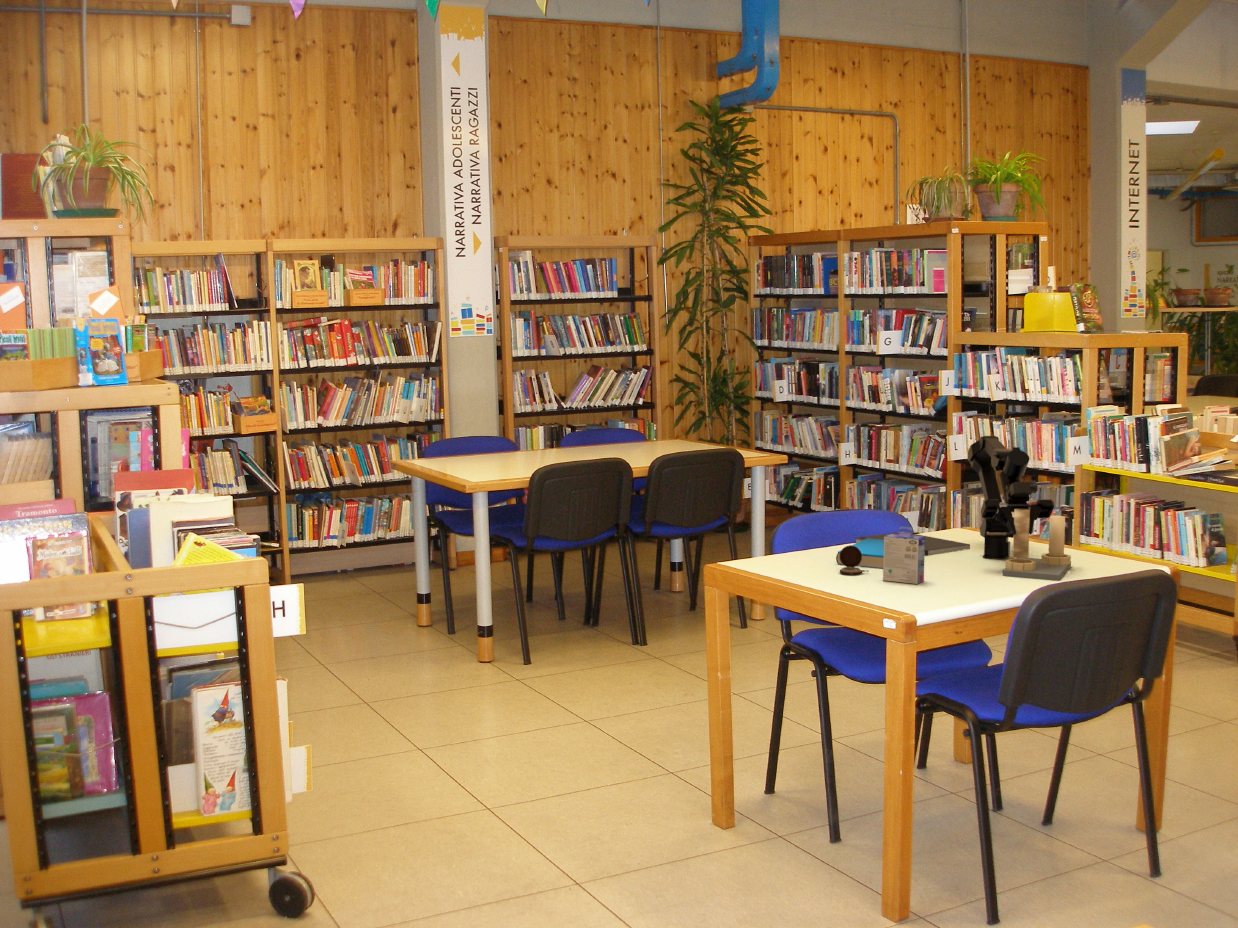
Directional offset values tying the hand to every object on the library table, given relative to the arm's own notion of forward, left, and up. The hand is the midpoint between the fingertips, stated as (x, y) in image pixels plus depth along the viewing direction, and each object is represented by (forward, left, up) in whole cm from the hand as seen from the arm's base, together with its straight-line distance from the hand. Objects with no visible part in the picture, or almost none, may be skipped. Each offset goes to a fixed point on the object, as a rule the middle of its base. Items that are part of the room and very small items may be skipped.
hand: (1022, 533), depth 319 cm
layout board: (+3, +7, -11) cm, 14 cm away
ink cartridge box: (-26, -22, -12) cm, 36 cm away
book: (-41, +4, -12) cm, 43 cm away
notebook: (-39, +30, -12) cm, 50 cm away
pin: (-1, +1, -7) cm, 7 cm away
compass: (-41, -18, -12) cm, 47 cm away
